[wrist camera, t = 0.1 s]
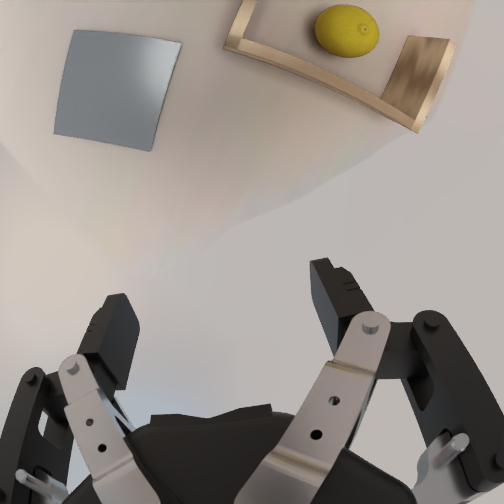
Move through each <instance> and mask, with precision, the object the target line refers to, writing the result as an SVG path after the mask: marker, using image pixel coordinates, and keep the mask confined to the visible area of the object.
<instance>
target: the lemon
mask: <svg viewBox="0 0 504 504" xmlns="http://www.w3.org/2000/svg"><path fill="white" fill-rule="evenodd" d="M315 34H316V37H317V39H318V41H319V43H320V44H321V45H322V47H324V48H325V49H326V50H327V51H329V52H330V53H332V54H334V55H337V56H340V57H345V58H354V57H360V56H363V55H365V54H367V53H369V52H370V51H371V50H372V49H374V47H375V46H376V44H377V43H378V39H379V29H378V25H377V23H376V21H375V20H374V18H373V17H372V16H371V15H370V14H369V13H368V12H366V11H365V10H363V9H361V8H359V7H356V6H352V5H335V6H332V7H329V8H327V9H326V10H324V11H323V12H322V13H321V14H320V15H319V16H318V18H317V20H316V23H315Z"/></svg>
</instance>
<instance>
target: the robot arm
mask: <svg viewBox="0 0 504 504" xmlns="http://www.w3.org/2000/svg"><path fill="white" fill-rule="evenodd" d="M310 280H311V294H312V299H313V303H314V306H315V309H316V311H317V314H318V317H319V319H320V322H321V324H322V327H323V329H324V332H325V335H326V337H327V340H328V343H329V345H330V348H331V350H332V353H333V355H334V359H333V360H332V361H327V362H326V363H325V365H324V367H323V368H322V370H321V372H320V374H319V376H318V378H317V380H316V381H315V383H314V385H313V387H312V389H311V390H310V392H309V394H308V395H307V397H306V399H305V401H304V402H303V404H302V406H301V407H300V409H299V411H298V413H297V414H296V416H294V415H291V414H288V413H282V412H272V408H271V404H265V405H259V406H252V407H245V408H239V409H236V410H233V411H230V412H227V413H224V414H221V415H218V416H215V417H212V418H200V417H194V416H188V415H182V414H164V415H151V420H150V424H147V425H144V426H141V427H139V428H137V429H135V428H134V426H133V425H132V423H131V422H130V420H129V418H128V417H127V415H126V414H125V412H124V410H123V408H122V407H121V405H120V403H119V402H118V400H117V398H116V397H115V396H114V393H115V390H125V389H126V385H127V380H128V376H129V372H130V368H131V363H132V359H133V355H134V351H135V348H136V343H137V340H138V336H139V332H140V326H139V321H138V319H137V317H136V315H135V312H134V310H133V308H132V306H131V304H130V302H129V300H128V298H127V296H126V295H125V294H124V293H120V294H114V295H108V296H107V298H106V300H105V302H104V304H103V306H102V308H100V309H99V310H98V311H97V312H96V313H95V314H94V315H93V317H92V319H91V321H90V326H88V328H87V330H86V331H87V332H86V333H85V335H84V337H83V340H82V342H81V344H80V347H79V349H78V352H77V354H75V355H72V356H69V357H68V358H66V359H65V360H64V361H63V362H62V363H61V365H60V367H59V370H58V371H57V372H54V373H51V374H48V375H46V374H45V373H44V371H43V370H42V369H41V368H39V367H34V368H31V369H29V370H28V371H27V372H26V373H25V374H24V375H23V376H22V378H21V381H20V383H19V386H18V388H17V391H16V393H15V396H14V399H13V401H12V404H11V407H10V410H9V413H8V416H7V419H6V422H5V425H4V428H3V431H2V435H1V438H0V504H466V503H468V502H470V501H472V500H474V499H476V498H478V497H480V496H482V495H484V494H485V493H487V492H489V491H491V490H492V489H494V488H496V487H497V486H499V485H501V484H502V483H504V415H503V413H502V411H501V409H500V407H499V405H498V403H497V401H496V399H495V398H494V395H493V393H492V392H491V390H490V388H489V386H488V384H487V383H486V381H485V379H484V377H483V375H482V374H481V372H480V370H479V369H478V367H477V365H476V363H475V362H474V360H473V358H472V357H471V355H470V354H469V352H468V351H467V349H466V347H465V346H464V344H463V342H462V341H461V339H460V338H459V336H458V335H457V333H456V332H455V330H454V329H453V327H452V326H451V324H450V323H449V321H448V320H447V318H446V317H445V316H444V315H442V314H441V313H439V312H436V311H433V310H425V311H421V312H419V313H418V314H416V316H415V317H414V319H413V322H403V323H402V322H401V323H398V322H397V323H396V322H390V321H389V319H388V318H387V317H386V316H384V315H383V314H381V313H379V312H375V311H374V310H373V308H372V306H371V304H370V303H369V302H368V300H367V298H366V296H365V295H364V293H363V291H362V290H361V289H360V287H359V285H358V283H357V282H356V280H355V279H354V277H353V275H352V274H351V273H350V272H349V271H347V270H346V269H344V268H343V267H339V268H334V267H333V265H332V264H331V262H330V260H329V259H328V258H322V259H317V260H312V261H310ZM378 379H401V381H402V384H403V386H404V389H405V391H406V393H407V396H408V399H409V401H410V403H411V406H412V409H413V411H414V414H415V416H416V419H417V422H418V424H419V427H420V430H421V432H422V435H423V438H424V441H425V444H426V447H427V449H426V450H425V451H424V452H423V454H422V455H421V456H420V458H419V460H418V463H417V471H418V478H417V482H416V484H415V486H414V488H413V489H411V490H410V488H409V487H408V486H407V485H405V484H404V483H403V482H401V481H400V480H398V479H396V478H394V477H393V476H391V475H389V474H387V473H385V472H384V471H382V470H381V469H379V468H377V467H376V466H374V465H372V464H371V463H369V462H368V461H366V460H364V459H363V458H361V457H360V456H358V455H356V454H355V453H353V452H351V451H350V450H349V449H350V447H351V445H352V443H353V440H354V438H355V436H356V434H357V432H358V429H359V427H360V424H361V421H362V419H363V416H364V414H365V411H366V409H367V406H368V404H369V401H370V399H371V397H372V394H373V391H374V388H375V386H376V383H377V380H378ZM42 411H44V412H45V413H46V414H47V415H48V420H47V423H46V427H45V431H44V435H43V437H42V435H41V434H40V432H39V429H38V424H39V420H40V417H41V413H42ZM74 437H75V440H76V442H77V444H78V447H79V449H80V452H81V454H82V456H83V458H84V460H85V463H86V465H87V467H88V469H89V471H90V473H91V474H90V475H89V476H88V477H87V478H86V479H85V480H84V481H83V482H82V483H81V484H80V485H79V486H78V487H77V488H76V489H75V490H74V491H73V492H72V493H71V494H70V495H69V494H68V490H67V488H66V483H67V476H68V469H69V462H70V457H71V450H72V445H73V440H74Z"/></svg>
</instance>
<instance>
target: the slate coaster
mask: <svg viewBox="0 0 504 504" xmlns="http://www.w3.org/2000/svg"><path fill="white" fill-rule="evenodd" d="M181 46H182V43H177V42H172V41H167V40H162V39H156V38H150V37H144V36H137V35H129V34H121V33H111V32H100V31H84V30H74V32H73V35H72V39H71V42H70V46H69V50H68V54H67V58H66V62H65V67H64V71H63V76H62V81H61V86H60V92H59V98H58V104H57V111H56V118H55V126H54V134H57V135H63V136H70V137H76V138H82V139H88V140H93V141H99V142H104V143H110V144H115V145H120V146H125V147H130V148H134V149H139V150H144V151H148V152H150V151H151V148H152V144H153V140H154V135H155V131H156V128H157V124H158V120H159V116H160V112H161V109H162V105H163V102H164V98H165V95H166V91H167V88H168V85H169V82H170V78H171V75H172V72H173V69H174V66H175V63H176V60H177V57H178V54H179V51H180V49H181Z"/></svg>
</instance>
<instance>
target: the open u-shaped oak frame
mask: <svg viewBox="0 0 504 504" xmlns="http://www.w3.org/2000/svg"><path fill="white" fill-rule="evenodd" d="M257 1H258V0H243V1H242V3H241V6H240V8H239V10H238V13H237V15H236V17H235V20H234V22H233V24H232V27H231V29H230V32H229V34H228V37H227V39H226V42H225V44H224V47H223V49H225V50H228V51H232V52H235V53H238V54H242V55H245V56H248V57H251V58H254V59H257V60H260V61H263V62H266V63H269V64H271V65H274V66H277V67H280V68H282V69H285V70H287V71H290V72H292V73H295V74H297V75H300V76H302V77H305V78H307V79H309V80H312V81H314V82H316V83H319V84H321V85H323V86H325V87H327V88H330V89H332V90H334V91H336V92H338V93H340V94H342V95H344V96H346V97H348V98H350V99H352V100H354V101H356V102H358V103H360V104H362V105H364V106H366V107H367V108H369V109H371V110H373V111H375V112H377V113H378V114H380V115H382V116H384V117H386V118H388V119H390V120H392V121H394V122H396V123H398V124H400V125H402V126H404V127H406V128H408V129H410V130H412V131H413V132H415V133H418V132H419V130H420V128H421V126H422V124H423V122H424V120H425V117H426V115H427V113H428V111H429V109H430V107H431V105H432V102H433V100H434V98H435V96H436V93H437V91H438V89H439V87H440V84H441V82H442V80H443V77H444V75H445V72H446V70H447V68H448V65H449V63H450V60H451V58H452V55H453V53H454V50H455V47H456V44H455V43H453V42H452V41H451V40H450V39H443V38H431V37H416V36H408V38H407V41H406V43H405V45H404V48H403V50H402V53H401V55H400V57H399V59H398V62H397V64H396V66H395V69H394V71H393V73H392V75H391V78H390V80H389V82H388V84H387V87H386V89H385V91H384V93H383V95H382V97H381V99H380V98H378V97H376V96H374V95H373V94H371V93H369V92H367V91H366V90H364V89H362V88H360V87H358V86H356V85H354V84H352V83H351V82H349V81H347V80H345V79H343V78H341V77H339V76H337V75H335V74H332V73H330V72H328V71H326V70H324V69H322V68H320V67H317V66H315V65H313V64H311V63H308V62H306V61H304V60H301V59H299V58H296V57H294V56H291V55H289V54H286V53H284V52H281V51H279V50H276V49H273V48H270V47H268V46H265V45H262V44H259V43H256V42H253V41H250V40H247V39H244V38H242V36H243V34H244V31H245V29H246V27H247V24H248V22H249V19H250V17H251V15H252V13H253V10H254V8H255V6H256V4H257Z"/></svg>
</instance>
